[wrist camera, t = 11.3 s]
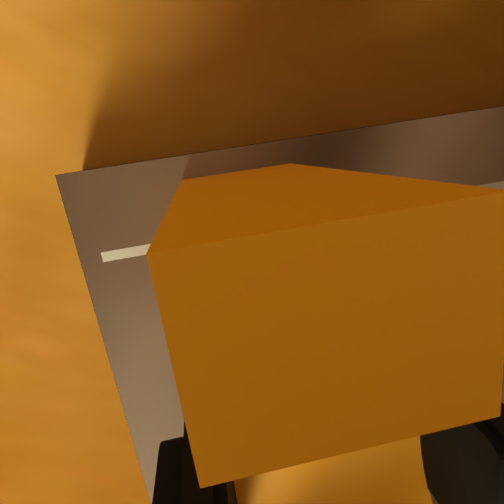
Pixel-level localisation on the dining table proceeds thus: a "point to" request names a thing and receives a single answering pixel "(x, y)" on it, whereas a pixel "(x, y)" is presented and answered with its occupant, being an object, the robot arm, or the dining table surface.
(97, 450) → the dining table surface
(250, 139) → the dining table surface
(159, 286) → the pipe clamp
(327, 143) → the board
